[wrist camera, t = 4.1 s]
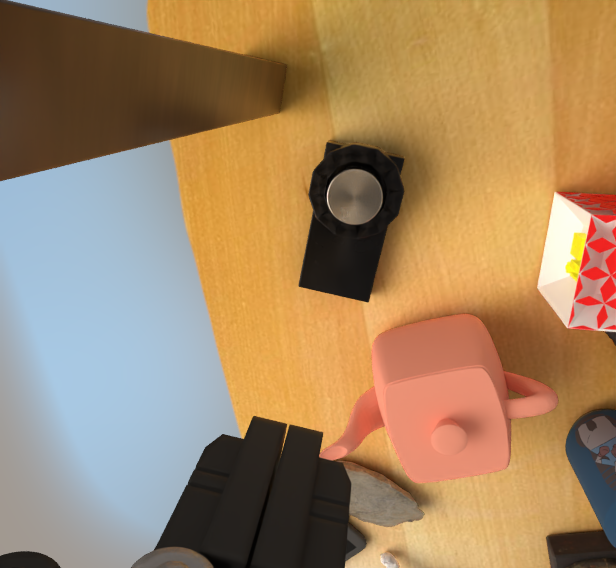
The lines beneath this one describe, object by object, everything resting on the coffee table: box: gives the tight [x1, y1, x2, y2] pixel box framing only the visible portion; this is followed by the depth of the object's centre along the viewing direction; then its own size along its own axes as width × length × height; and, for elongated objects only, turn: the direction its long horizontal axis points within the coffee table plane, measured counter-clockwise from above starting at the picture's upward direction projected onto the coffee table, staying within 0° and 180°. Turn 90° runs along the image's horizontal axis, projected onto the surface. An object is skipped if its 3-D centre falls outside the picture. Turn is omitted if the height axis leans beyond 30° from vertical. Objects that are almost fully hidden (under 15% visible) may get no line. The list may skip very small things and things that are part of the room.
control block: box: [299, 140, 404, 302], centre depth 43 cm, size 12×7×4 cm, turn 169°
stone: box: [336, 461, 424, 527], centre depth 52 cm, size 13×3×5 cm
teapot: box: [320, 314, 558, 483], centre depth 43 cm, size 11×18×10 cm, turn 107°
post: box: [0, 0, 287, 181], centre depth 25 cm, size 4×4×36 cm
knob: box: [327, 165, 383, 225], centre depth 40 cm, size 4×4×2 cm
